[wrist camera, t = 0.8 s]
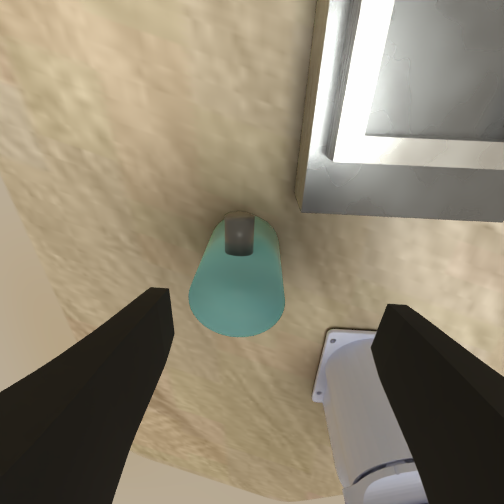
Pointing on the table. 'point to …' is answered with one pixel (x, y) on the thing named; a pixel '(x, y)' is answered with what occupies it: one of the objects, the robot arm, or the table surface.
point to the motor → (405, 110)
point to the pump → (239, 278)
